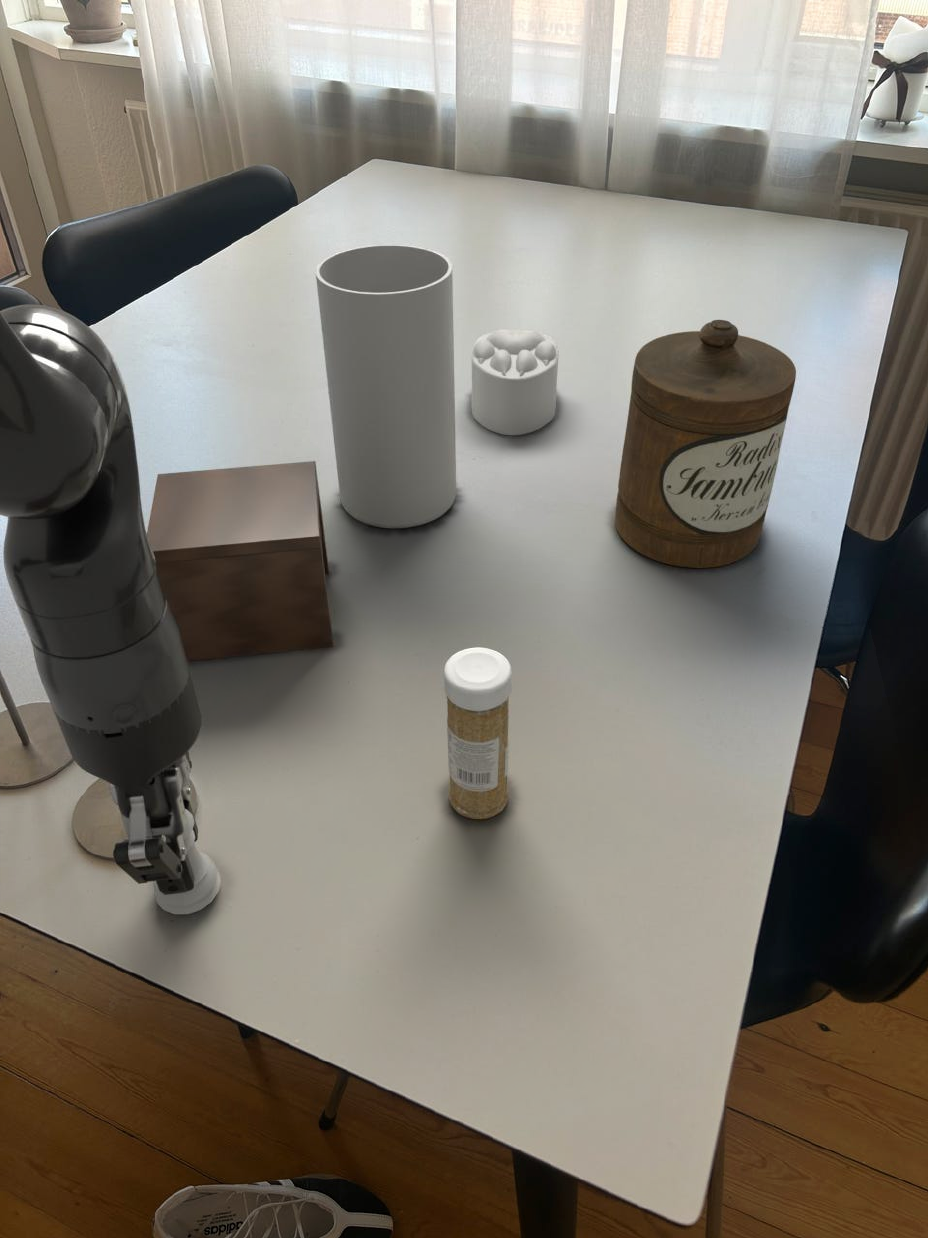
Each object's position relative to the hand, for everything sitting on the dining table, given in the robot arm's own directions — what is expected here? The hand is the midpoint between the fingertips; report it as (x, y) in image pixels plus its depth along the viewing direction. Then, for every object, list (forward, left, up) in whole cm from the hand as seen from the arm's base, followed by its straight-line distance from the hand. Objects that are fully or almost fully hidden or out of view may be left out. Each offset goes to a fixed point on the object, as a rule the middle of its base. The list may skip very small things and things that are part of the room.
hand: (180, 863), depth 65 cm
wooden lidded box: (+4, +30, -3) cm, 30 cm away
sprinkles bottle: (+21, +5, -3) cm, 22 cm away
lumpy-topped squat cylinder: (+35, +65, -3) cm, 74 cm away
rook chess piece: (0, 0, -3) cm, 3 cm away
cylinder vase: (+19, +47, -3) cm, 51 cm away
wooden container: (+48, +37, -3) cm, 61 cm away
